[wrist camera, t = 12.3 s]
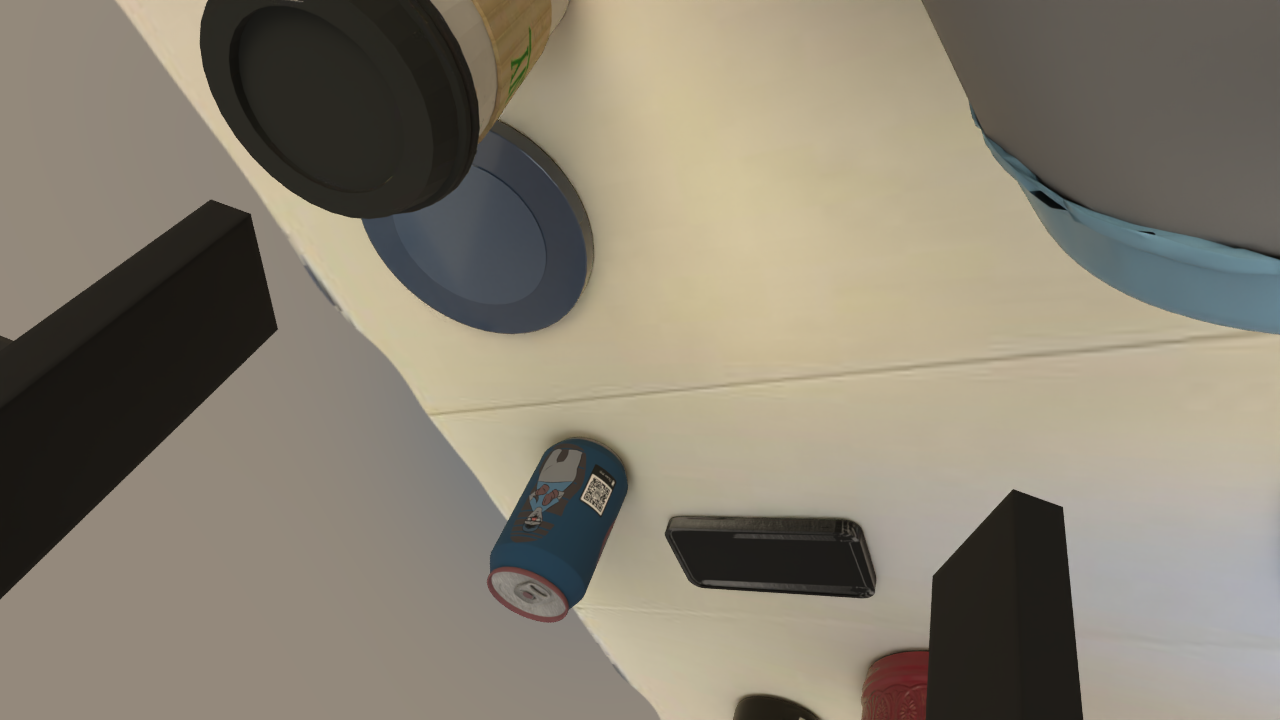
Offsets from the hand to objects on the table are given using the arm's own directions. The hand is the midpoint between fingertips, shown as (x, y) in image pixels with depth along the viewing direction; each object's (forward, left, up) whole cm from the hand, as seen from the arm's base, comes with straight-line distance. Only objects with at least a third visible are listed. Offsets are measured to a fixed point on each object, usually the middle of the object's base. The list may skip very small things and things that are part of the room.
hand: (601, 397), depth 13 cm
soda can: (+38, -7, -26) cm, 46 cm away
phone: (+41, +8, -26) cm, 49 cm away
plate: (+19, -16, -26) cm, 36 cm away
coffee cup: (+4, -14, -26) cm, 30 cm away
